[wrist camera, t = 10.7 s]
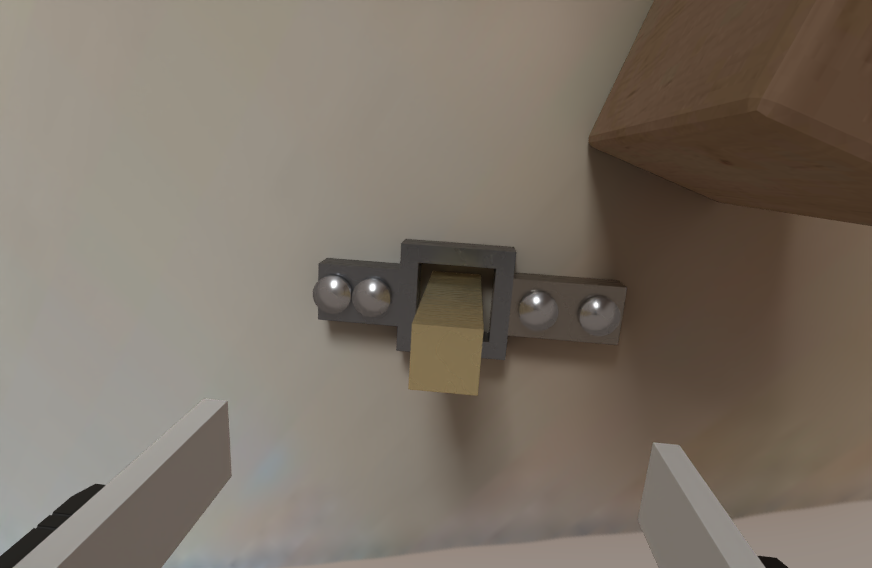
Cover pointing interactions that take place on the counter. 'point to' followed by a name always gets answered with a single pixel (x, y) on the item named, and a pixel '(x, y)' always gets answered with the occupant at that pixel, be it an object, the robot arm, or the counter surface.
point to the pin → (448, 335)
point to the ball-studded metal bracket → (510, 307)
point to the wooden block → (751, 103)
